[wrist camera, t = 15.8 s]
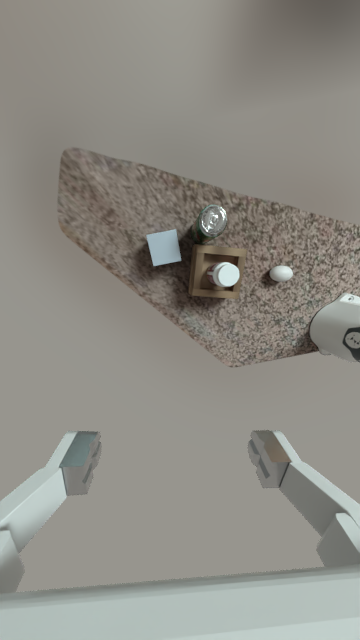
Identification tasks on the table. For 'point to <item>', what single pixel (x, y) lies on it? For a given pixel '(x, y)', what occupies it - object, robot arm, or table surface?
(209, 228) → the soda can
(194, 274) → the wooden open box
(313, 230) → the table surface
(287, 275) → the egg
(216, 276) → the pill bottle
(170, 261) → the slate block
